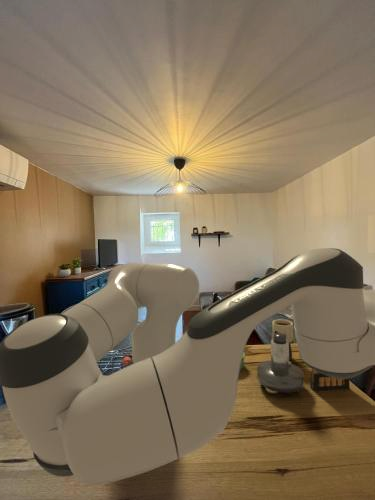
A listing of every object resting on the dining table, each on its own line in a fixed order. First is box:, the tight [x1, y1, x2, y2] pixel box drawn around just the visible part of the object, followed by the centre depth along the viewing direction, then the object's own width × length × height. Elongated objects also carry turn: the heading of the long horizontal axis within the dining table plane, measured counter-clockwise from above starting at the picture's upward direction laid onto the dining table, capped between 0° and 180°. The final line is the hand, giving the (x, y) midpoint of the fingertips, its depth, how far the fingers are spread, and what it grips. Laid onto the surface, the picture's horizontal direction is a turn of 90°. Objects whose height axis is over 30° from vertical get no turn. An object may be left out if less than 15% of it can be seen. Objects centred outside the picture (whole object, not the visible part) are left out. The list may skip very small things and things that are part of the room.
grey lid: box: [256, 359, 305, 396], centre depth 76 cm, size 13×13×5 cm
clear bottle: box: [270, 333, 290, 376], centre depth 76 cm, size 5×5×11 cm
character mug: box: [271, 318, 294, 360], centre depth 93 cm, size 11×7×13 cm, turn 2°
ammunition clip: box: [309, 368, 350, 392], centre depth 74 cm, size 11×2×12 cm, turn 92°
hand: (289, 289), depth 61 cm, fingers open, 8 cm apart
